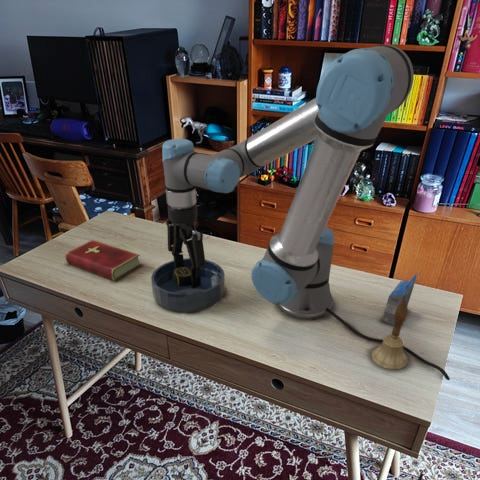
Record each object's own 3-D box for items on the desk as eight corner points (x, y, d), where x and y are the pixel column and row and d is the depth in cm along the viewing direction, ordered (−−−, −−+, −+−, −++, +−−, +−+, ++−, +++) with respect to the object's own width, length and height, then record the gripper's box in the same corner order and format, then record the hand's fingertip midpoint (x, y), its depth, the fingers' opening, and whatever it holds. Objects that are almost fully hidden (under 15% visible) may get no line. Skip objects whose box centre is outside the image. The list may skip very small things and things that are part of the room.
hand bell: (372, 344, 109) (384, 289, 100) (407, 350, 107) (423, 295, 98) (370, 366, 103) (383, 309, 94) (407, 373, 101) (424, 316, 92)
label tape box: (393, 306, 123) (402, 267, 116) (407, 311, 121) (418, 271, 114) (381, 321, 117) (390, 281, 110) (396, 326, 115) (407, 286, 108)
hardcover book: (114, 282, 134) (111, 269, 132) (67, 264, 143) (64, 252, 141) (141, 265, 142) (139, 253, 140) (95, 250, 151) (92, 238, 149)
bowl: (239, 294, 128) (239, 277, 125) (180, 322, 117) (178, 303, 114) (197, 268, 141) (195, 251, 137) (140, 291, 130) (137, 273, 126)
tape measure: (201, 284, 125) (200, 273, 123) (179, 291, 123) (178, 279, 120) (191, 274, 130) (190, 263, 128) (169, 280, 127) (168, 269, 125)
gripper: (218, 212, 109) (220, 290, 122) (172, 190, 121) (179, 263, 135) (193, 220, 105) (198, 300, 118) (148, 196, 117) (158, 272, 131)
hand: (188, 281), depth 127 cm, fingers closed on tape measure, 7 cm apart
